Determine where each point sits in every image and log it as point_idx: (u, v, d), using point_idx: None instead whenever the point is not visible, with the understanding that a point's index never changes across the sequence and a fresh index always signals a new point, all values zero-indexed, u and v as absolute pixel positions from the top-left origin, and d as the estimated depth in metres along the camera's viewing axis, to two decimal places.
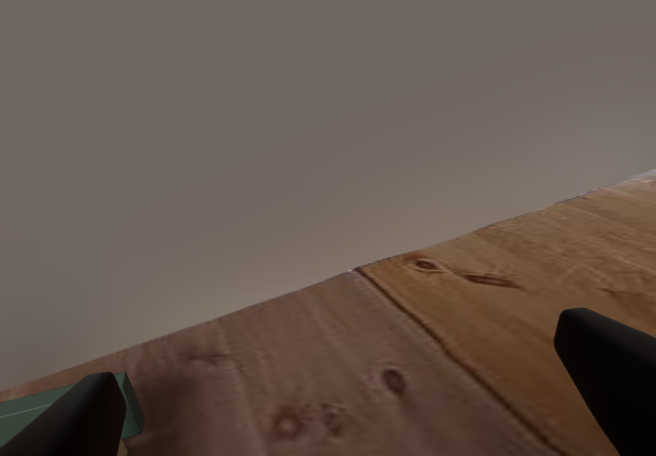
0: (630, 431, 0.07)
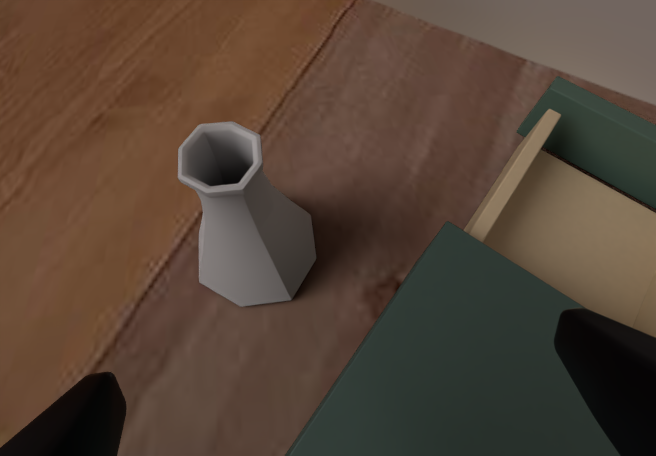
0: (630, 431, 0.07)
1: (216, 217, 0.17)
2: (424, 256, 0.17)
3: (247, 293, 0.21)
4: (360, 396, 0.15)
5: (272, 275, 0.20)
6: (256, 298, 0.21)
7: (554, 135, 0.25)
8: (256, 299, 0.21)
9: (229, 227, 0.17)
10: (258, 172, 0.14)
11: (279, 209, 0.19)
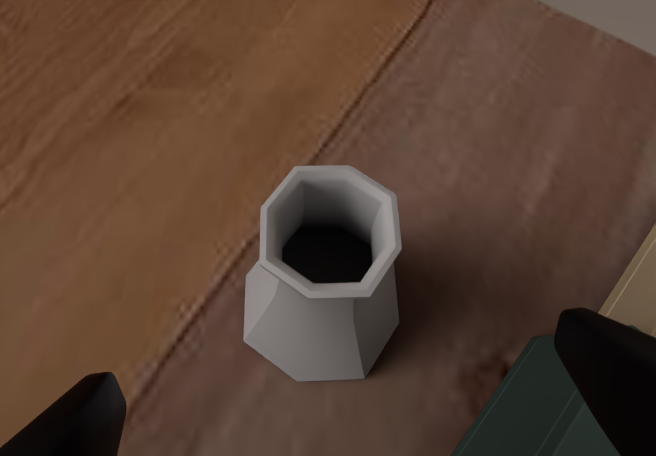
0: (630, 431, 0.07)
1: (296, 298, 0.11)
2: None
3: (309, 371, 0.16)
4: None
5: (351, 357, 0.15)
6: (320, 376, 0.16)
7: None
8: (320, 376, 0.16)
9: (313, 313, 0.11)
10: (392, 262, 0.08)
11: None
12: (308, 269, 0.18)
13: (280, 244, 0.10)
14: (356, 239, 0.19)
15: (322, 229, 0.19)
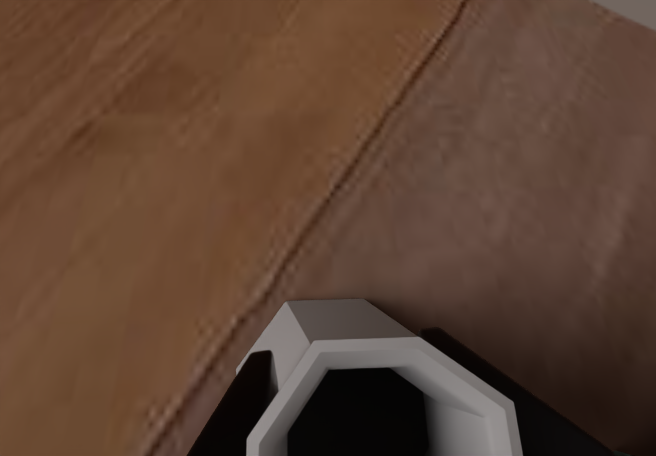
0: None
1: None
2: None
3: None
4: None
5: None
6: None
7: None
8: None
9: None
10: None
11: None
12: None
13: None
14: None
15: None
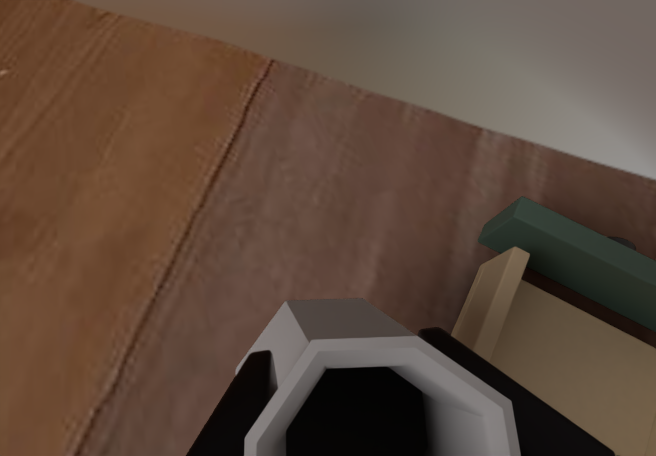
0: None
1: None
2: None
3: None
4: None
5: None
6: None
7: None
8: None
9: None
10: None
11: None
12: None
13: None
14: None
15: None
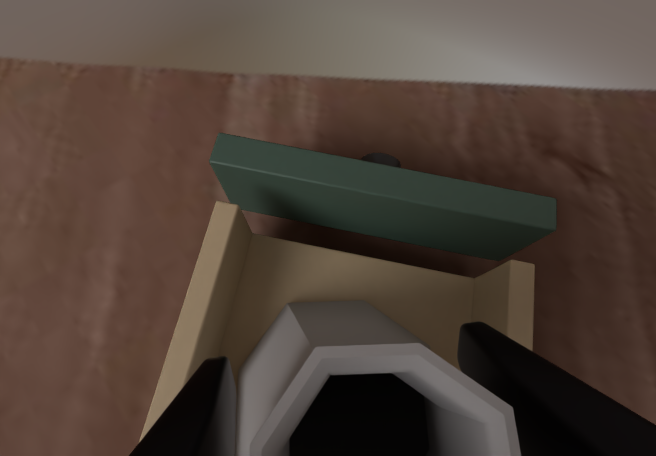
0: None
1: None
2: None
3: None
4: None
5: None
6: None
7: (275, 206, 0.16)
8: None
9: None
10: None
11: None
12: None
13: None
14: None
15: None
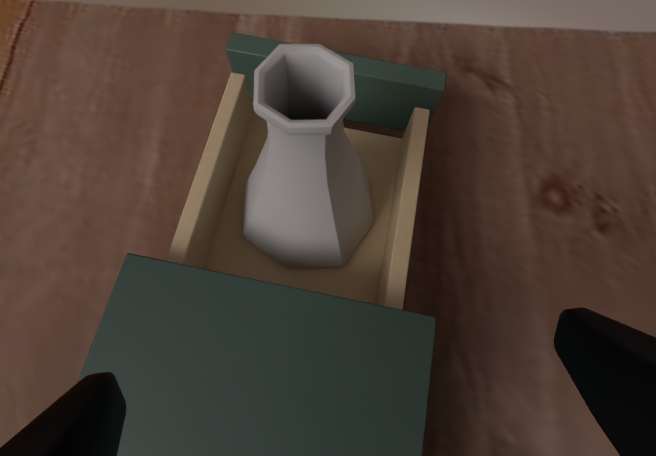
0: (630, 431, 0.07)
1: (282, 162, 0.14)
2: (108, 305, 0.15)
3: (297, 254, 0.19)
4: None
5: (329, 237, 0.18)
6: (305, 260, 0.19)
7: None
8: (306, 261, 0.19)
9: (295, 176, 0.14)
10: (349, 109, 0.12)
11: (349, 161, 0.16)
12: None
13: None
14: None
15: None
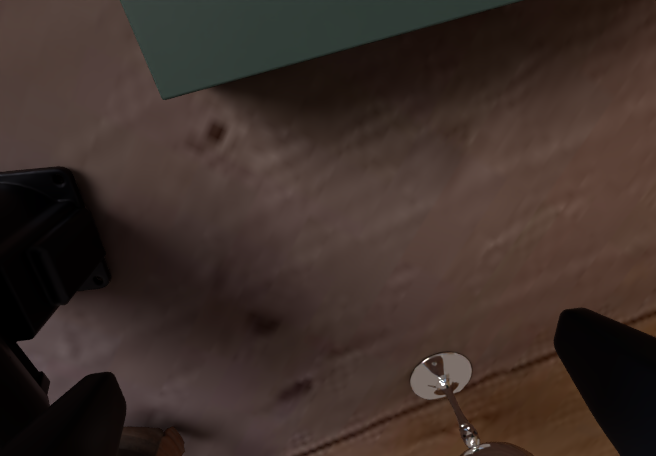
0: (630, 431, 0.07)
1: None
2: None
3: None
4: None
5: None
6: None
7: None
8: None
9: None
10: None
11: None
12: None
13: None
14: None
15: None
